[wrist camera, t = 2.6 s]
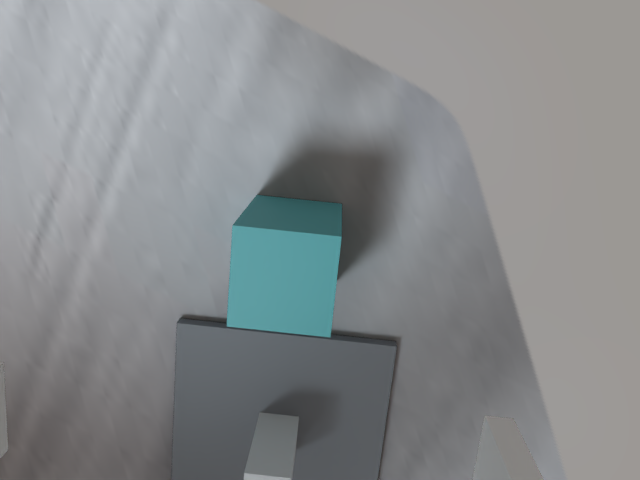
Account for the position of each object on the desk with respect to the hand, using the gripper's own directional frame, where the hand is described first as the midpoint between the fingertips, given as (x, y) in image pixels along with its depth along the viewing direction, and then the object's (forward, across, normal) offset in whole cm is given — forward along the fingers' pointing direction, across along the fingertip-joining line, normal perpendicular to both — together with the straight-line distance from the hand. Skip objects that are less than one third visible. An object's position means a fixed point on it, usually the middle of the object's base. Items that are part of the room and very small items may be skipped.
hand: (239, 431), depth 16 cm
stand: (+21, 0, -13) cm, 25 cm away
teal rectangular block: (+21, 0, 0) cm, 21 cm away
